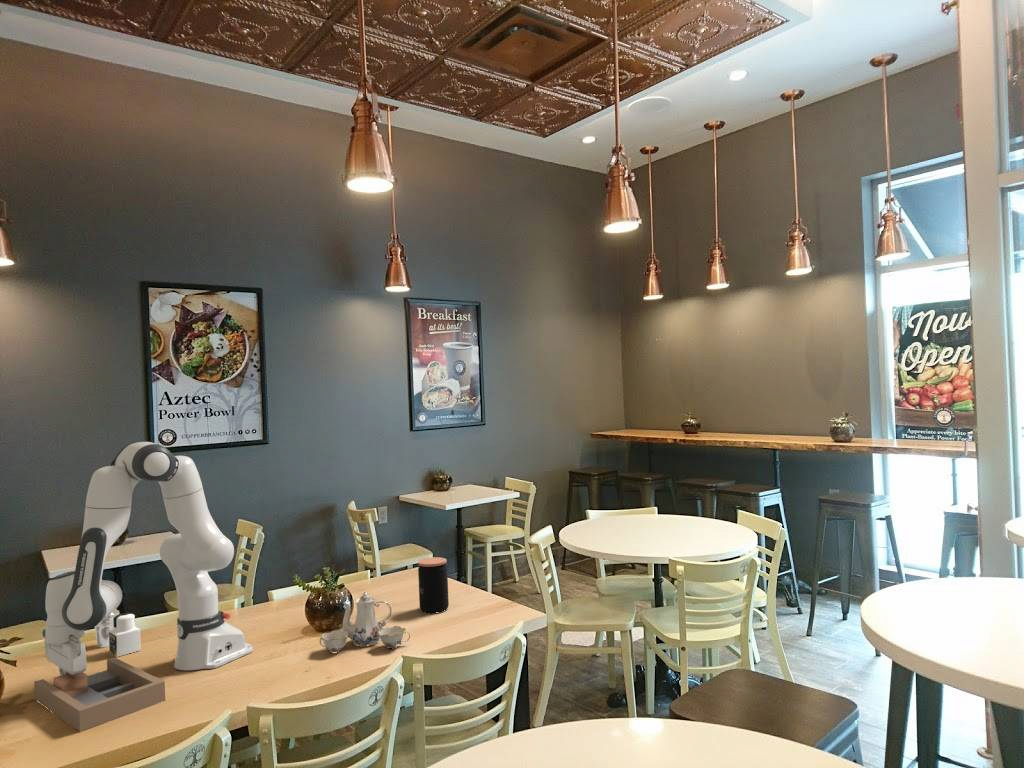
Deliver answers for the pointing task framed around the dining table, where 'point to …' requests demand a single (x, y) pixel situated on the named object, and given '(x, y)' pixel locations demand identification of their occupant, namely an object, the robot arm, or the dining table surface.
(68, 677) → the terracotta block
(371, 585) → the dining table surface
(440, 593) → the coffee jar
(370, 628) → the chinaware
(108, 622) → the cup with straw
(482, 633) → the dining table surface
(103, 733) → the dining table surface
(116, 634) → the medicine bottle
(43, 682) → the box
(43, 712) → the dining table surface
